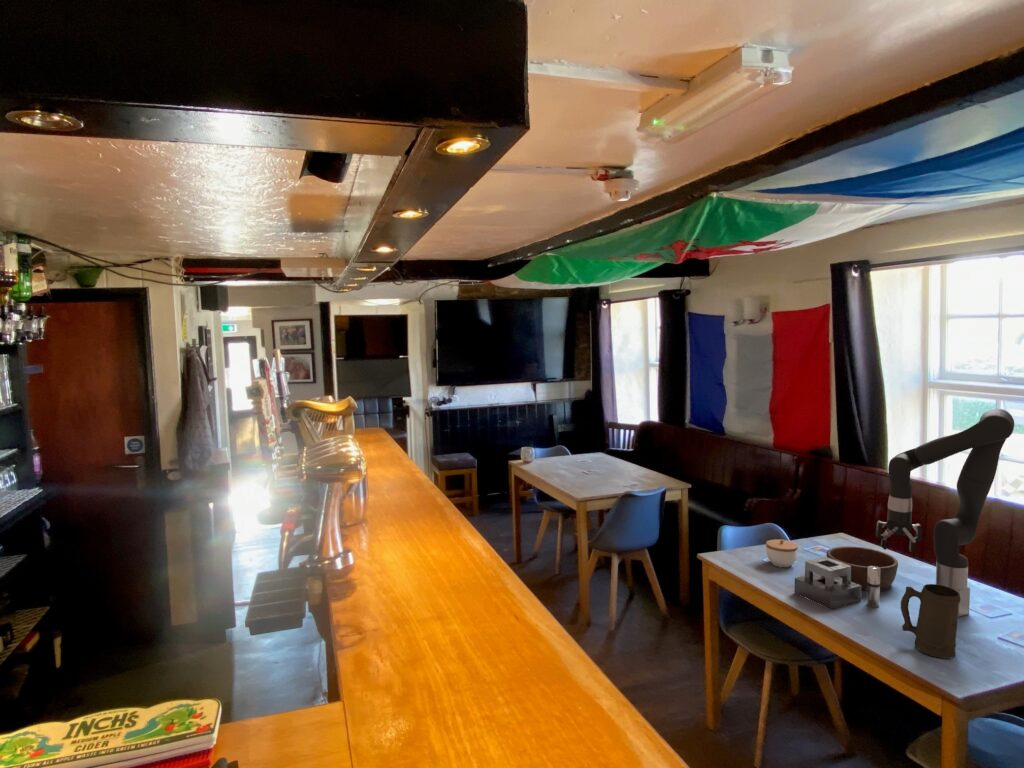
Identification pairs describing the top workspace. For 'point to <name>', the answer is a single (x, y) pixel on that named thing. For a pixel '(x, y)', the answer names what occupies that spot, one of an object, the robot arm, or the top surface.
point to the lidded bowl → (781, 552)
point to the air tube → (873, 586)
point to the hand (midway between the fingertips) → (897, 550)
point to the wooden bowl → (865, 564)
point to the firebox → (828, 583)
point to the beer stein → (933, 619)
